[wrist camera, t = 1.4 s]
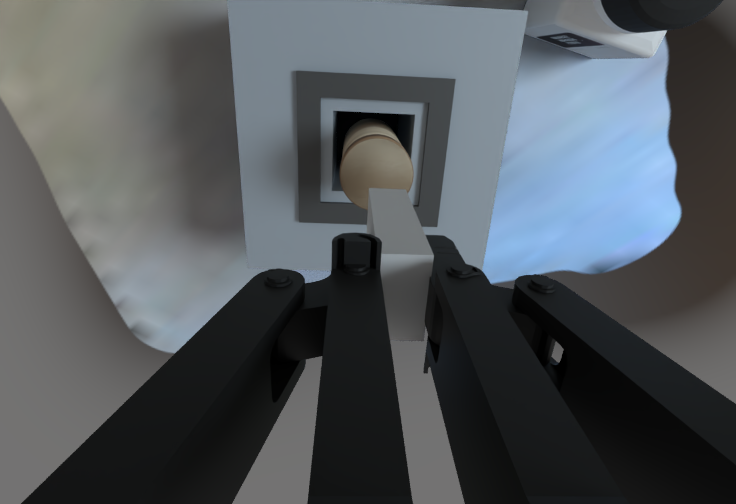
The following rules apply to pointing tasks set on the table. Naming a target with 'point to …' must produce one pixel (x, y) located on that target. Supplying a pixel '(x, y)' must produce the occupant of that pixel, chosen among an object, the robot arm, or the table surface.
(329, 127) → the socket block
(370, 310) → the robot arm
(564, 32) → the container
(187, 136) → the table surface
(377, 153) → the peg
